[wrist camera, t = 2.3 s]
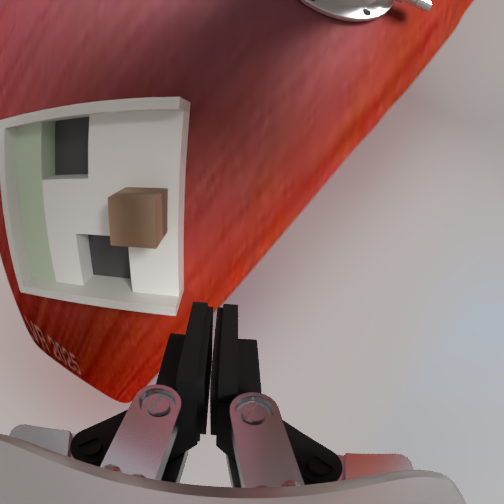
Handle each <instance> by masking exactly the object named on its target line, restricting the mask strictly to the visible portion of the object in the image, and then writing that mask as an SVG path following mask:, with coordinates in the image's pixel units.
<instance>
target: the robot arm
mask: <svg viewBox="0 0 504 504" xmlns="http://www.w3.org/2000/svg"><path fill="white" fill-rule="evenodd" d="M300 1H301V2H303V3H304V4H305V5H307V6H309V7H310V8H312V9H314V10H315V11H317V12H320V13H322V14H324V15H326V16H329V17H333V18H336V19H339V20H345V21H352V22H363V21H370V20H373V19H376V18H378V17H380V16H382V15H383V14H385V13H386V12H387V11H389V10H390V9H391V7H392V5H393V4H394V1H395V0H313V1H311V0H300ZM396 1H398V2H403V1H405V2H407V3H410V4H411V5H412V6H415V7H417V8H419V9H421V10H423V11H426V12H427V11H429V10H430V9H431V6H432V1H431V0H396ZM212 328H213V307H208V303H204V302H193V305H192V309H191V313H190V318H189V322H188V326H187V331H186V335H182V334H172V333H171V334H170V336H169V339H168V343H167V346H166V350H165V353H164V357H163V361H162V364H161V368H160V372H159V375H158V379H157V383H156V385H150V386H147V387H144V388H143V389H141V390H140V391H139V392H138V393H137V394H136V396H135V397H134V399H133V401H132V403H131V405H130V407H129V409H128V410H126V411H124V412H122V413H120V414H118V415H116V416H113V417H111V418H109V419H107V420H105V421H103V422H101V423H98V424H96V425H94V426H92V427H89V428H87V429H85V430H82V431H81V432H79V433H77V434H72V433H71V432H70V431H66V430H57V429H50V428H43V427H36V426H31V425H18V426H16V427H15V428H14V429H13V430H12V431H11V433H10V435H9V436H8V435H3V434H0V504H466V502H465V500H464V498H463V496H462V494H461V493H460V491H459V489H458V488H457V486H456V485H455V484H454V482H453V481H452V480H451V479H450V478H448V477H447V476H446V475H443V474H441V473H437V472H433V471H426V470H413V467H412V464H411V461H410V460H409V459H408V458H407V457H405V456H403V455H400V454H350V453H346V454H345V455H344V456H341V455H336V454H335V453H334V452H332V451H331V450H329V449H327V448H326V447H324V446H322V445H321V444H319V443H317V442H316V441H314V440H313V439H311V438H309V437H308V436H306V435H305V434H303V433H301V432H300V431H298V430H297V429H295V428H294V427H292V426H291V425H289V424H288V423H286V422H285V421H283V420H282V418H281V415H280V411H279V409H278V406H277V404H276V403H275V401H273V400H272V399H271V398H270V397H268V396H266V395H264V394H261V383H260V372H259V360H258V348H257V341H256V340H250V339H238V305H231V304H224V305H223V308H220V307H218V309H217V319H216V328H215V338H214V349H213V360H212V330H213V329H212ZM211 366H212V371H211ZM210 377H211V386H210ZM210 387H211V388H210ZM209 388H210V402H211V403H210V407H211V408H210V409H211V410H210V413H211V435H217V439H216V445H217V447H218V448H220V449H221V450H222V451H223V452H224V453H225V454H226V459H227V464H228V470H229V475H230V480H231V486H232V488H231V487H212V486H199V485H189V484H181V483H179V482H180V479H181V476H182V472H183V469H184V466H185V462H186V459H187V456H188V450H189V449H191V448H192V447H194V446H195V445H197V441H200V434H206V426H207V413H208V400H209Z"/></svg>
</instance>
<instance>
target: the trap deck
mask: <svg viewBox="0 0 504 504" xmlns="http://www.w3.org/2000/svg"><path fill="white" fill-rule="evenodd" d="M190 105H191V103H190V102H189V101H187V100H185V99H183V98H181V97H146V98H128V99H115V100H105V101H96V102H88V103H80V104H73V105H67V106H61V107H55V108H50V109H45V110H40V111H35V112H30V113H26V114H22V115H18V116H14V117H10V118H6V119H3V120H0V186H1V197H2V206H3V213H4V220H5V227H6V233H7V238H8V244H9V249H10V253H11V258H12V262H13V267H14V271H15V275H16V278H17V282H18V286H19V289H20V292H22V293H27V294H32V295H37V296H42V297H47V298H52V299H58V300H63V301H69V302H75V303H81V304H87V305H93V306H100V307H106V308H113V309H121V310H128V311H136V312H144V313H153V314H162V315H171V316H176V314H177V310H178V307H179V304H180V301H181V297H182V294H183V291H184V201H185V176H186V158H187V142H188V128H189V116H190ZM125 187H142V188H168V211H167V233H166V235H165V236H164V238H163V239H162V241H161V242H160V244H159V245H158V247H157V248H156V249H151V248H138V247H125V246H112V245H111V242H110V230H109V214H108V197H109V196H111V195H113V194H115V193H116V192H118V191H120V190H122V189H123V188H125Z"/></svg>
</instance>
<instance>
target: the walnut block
mask: <svg viewBox="0 0 504 504" xmlns="http://www.w3.org/2000/svg"><path fill="white" fill-rule="evenodd" d="M167 211H168V188H142V187H125V188H123V189H122V190H120V191H118V192H116V193H115V194H113V195H111V196H109V197H108V214H109V230H110V242H111V245H112V246H125V247H138V248H151V249H156V248H157V247H158V245H159V244H160V242H161V241H162V239H163V238H164V236H165V235H166V233H167Z"/></svg>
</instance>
